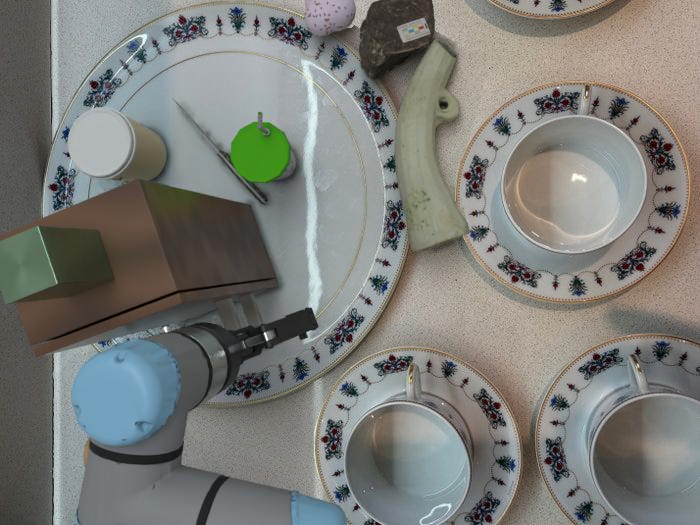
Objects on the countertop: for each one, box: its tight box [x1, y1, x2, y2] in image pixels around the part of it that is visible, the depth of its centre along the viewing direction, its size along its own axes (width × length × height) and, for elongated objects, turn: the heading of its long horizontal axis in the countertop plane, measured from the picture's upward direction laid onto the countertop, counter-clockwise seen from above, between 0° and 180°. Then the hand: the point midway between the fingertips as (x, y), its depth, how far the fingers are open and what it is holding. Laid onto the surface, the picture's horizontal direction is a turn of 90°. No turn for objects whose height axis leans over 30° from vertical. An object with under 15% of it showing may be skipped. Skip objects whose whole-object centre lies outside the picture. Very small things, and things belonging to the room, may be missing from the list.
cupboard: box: [0, 179, 277, 347], centre depth 79 cm, size 11×16×34 cm
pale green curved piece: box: [394, 38, 471, 255], centre depth 86 cm, size 28×8×10 cm
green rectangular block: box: [0, 226, 114, 305], centre depth 58 cm, size 5×5×9 cm
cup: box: [229, 111, 298, 184], centre depth 87 cm, size 8×8×15 cm
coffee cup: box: [67, 106, 168, 182], centre depth 92 cm, size 9×9×12 cm
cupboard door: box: [32, 278, 280, 359], centre depth 79 cm, size 7×16×34 cm, turn 110°
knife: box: [172, 98, 268, 205], centre depth 94 cm, size 20×1×3 cm, turn 42°
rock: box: [358, 0, 436, 81], centre depth 88 cm, size 10×7×8 cm
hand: (258, 336), depth 86 cm, fingers open, 12 cm apart
